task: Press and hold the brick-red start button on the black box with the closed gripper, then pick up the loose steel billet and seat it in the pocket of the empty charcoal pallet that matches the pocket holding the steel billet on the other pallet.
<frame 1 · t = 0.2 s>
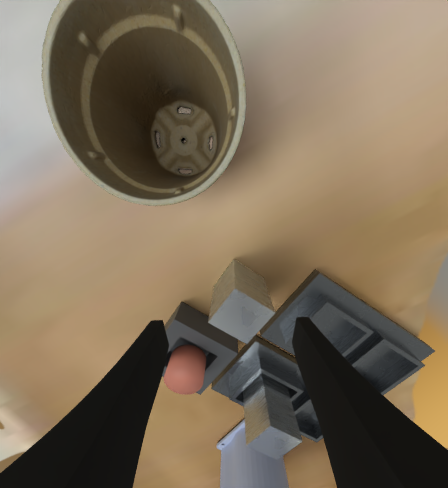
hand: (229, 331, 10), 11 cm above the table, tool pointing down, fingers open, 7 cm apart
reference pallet: (285, 387, 26), on the table
flower pot: (186, 141, 17), on the table
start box: (193, 338, 24), on the table
start button: (186, 368, 20), point 4 cm above the table, slide at 0.0 cm
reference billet: (263, 383, 25), point 1 cm above the table, touching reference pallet
billet: (238, 281, 21), on the table
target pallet: (343, 336, 23), on the table
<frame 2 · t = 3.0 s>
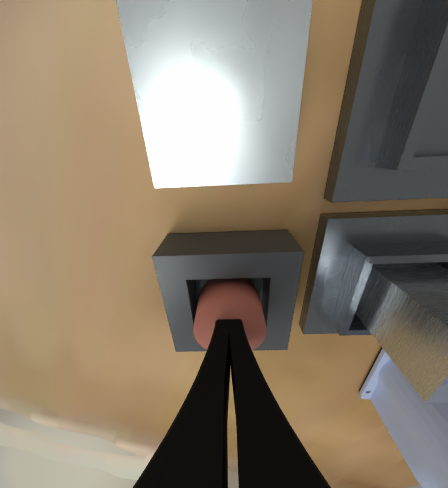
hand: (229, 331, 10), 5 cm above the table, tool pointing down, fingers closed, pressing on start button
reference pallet: (430, 274, 14), on the table
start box: (228, 279, 14), on the table
start button: (229, 314, 11), point 3 cm above the table, slide at 0.7 cm, touching gripper
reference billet: (386, 284, 13), point 1 cm above the table, touching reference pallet
billet: (222, 126, 10), on the table
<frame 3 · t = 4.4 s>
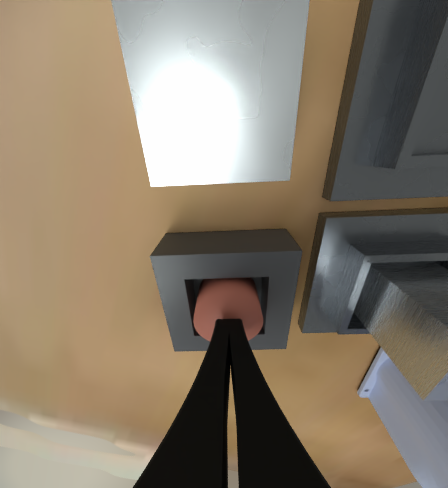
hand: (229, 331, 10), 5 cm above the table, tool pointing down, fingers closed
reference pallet: (429, 272, 14), on the table
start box: (227, 279, 14), on the table
start button: (227, 306, 12), point 3 cm above the table, slide at 1.3 cm
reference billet: (384, 283, 13), point 1 cm above the table, touching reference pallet
billet: (220, 125, 10), on the table
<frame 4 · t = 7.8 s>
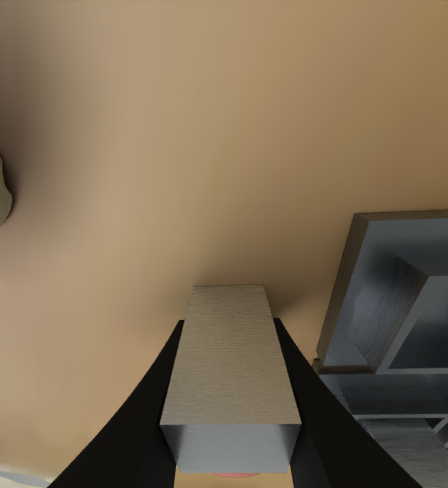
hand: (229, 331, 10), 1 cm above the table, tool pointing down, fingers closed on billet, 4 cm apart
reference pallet: (412, 394, 16), on the table
start button: (233, 441, 14), point 3 cm above the table, slide at 1.3 cm
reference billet: (372, 410, 15), point 1 cm above the table, touching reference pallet
billet: (229, 311, 12), on the table, touching gripper
when the fingers open (3 cm above the table, at t = 11.5 s): billet stays where it is, resting on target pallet.
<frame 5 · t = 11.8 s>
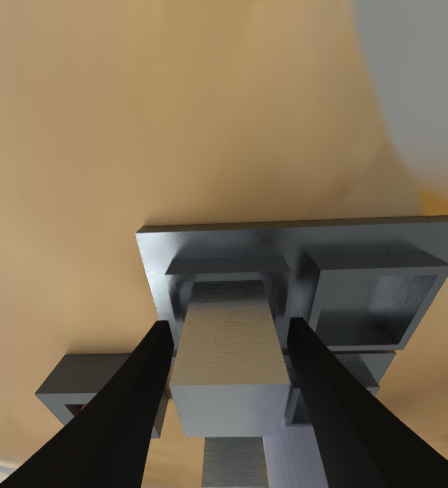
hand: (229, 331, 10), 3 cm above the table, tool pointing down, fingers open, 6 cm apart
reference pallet: (273, 377, 18), on the table
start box: (121, 379, 19), on the table
start button: (105, 414, 16), point 3 cm above the table, slide at 1.3 cm
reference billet: (232, 389, 17), point 1 cm above the table, touching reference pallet
billet: (228, 299, 12), point 1 cm above the table, touching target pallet
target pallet: (285, 288, 13), on the table
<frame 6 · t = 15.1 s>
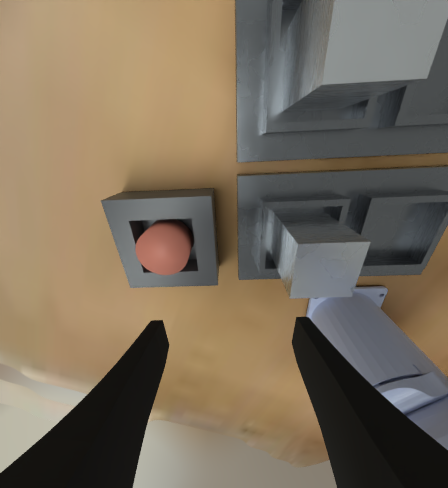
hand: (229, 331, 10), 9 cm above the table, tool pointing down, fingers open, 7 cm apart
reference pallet: (334, 227, 17), on the table
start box: (174, 232, 18), on the table
start button: (166, 246, 15), point 3 cm above the table, slide at 1.3 cm
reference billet: (294, 232, 17), point 1 cm above the table, touching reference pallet
billet: (316, 71, 12), point 1 cm above the table, touching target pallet
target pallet: (370, 73, 13), on the table
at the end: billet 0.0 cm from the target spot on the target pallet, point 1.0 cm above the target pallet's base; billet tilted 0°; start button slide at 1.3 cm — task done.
